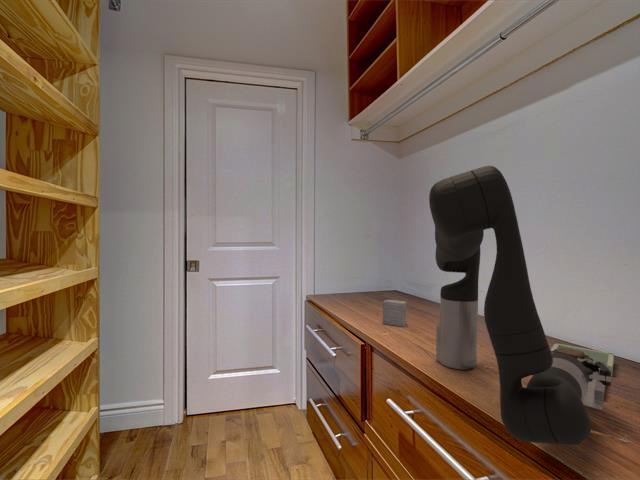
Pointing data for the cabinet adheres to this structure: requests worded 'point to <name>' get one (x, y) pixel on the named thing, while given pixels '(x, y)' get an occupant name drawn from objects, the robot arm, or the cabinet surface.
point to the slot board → (594, 393)
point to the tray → (592, 355)
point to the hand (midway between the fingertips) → (571, 357)
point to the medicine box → (394, 312)
